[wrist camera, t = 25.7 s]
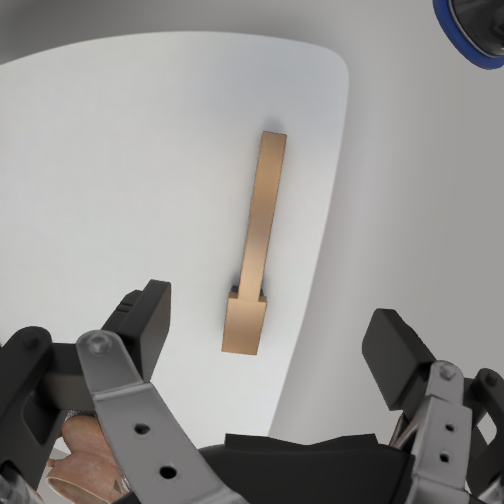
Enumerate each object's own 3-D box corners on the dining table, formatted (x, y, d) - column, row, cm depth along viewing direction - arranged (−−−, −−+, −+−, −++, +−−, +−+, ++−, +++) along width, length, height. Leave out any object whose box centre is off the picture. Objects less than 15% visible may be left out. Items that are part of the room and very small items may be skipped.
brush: (251, 132, 24) (252, 129, 21) (291, 138, 24) (297, 136, 21) (223, 334, 30) (221, 352, 27) (255, 338, 30) (256, 356, 27)
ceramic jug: (166, 436, 36) (149, 514, 23) (146, 468, 40) (131, 529, 27) (58, 384, 33) (17, 451, 20) (57, 426, 37) (30, 482, 24)
